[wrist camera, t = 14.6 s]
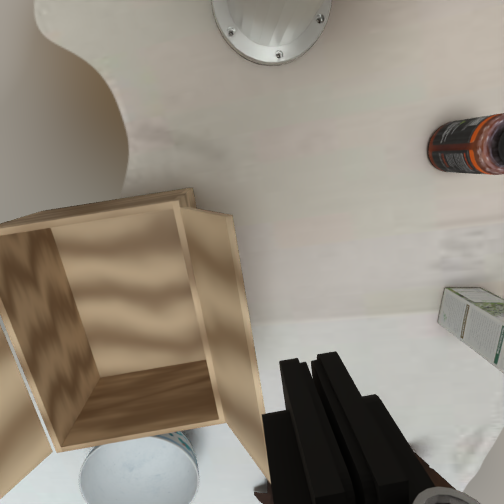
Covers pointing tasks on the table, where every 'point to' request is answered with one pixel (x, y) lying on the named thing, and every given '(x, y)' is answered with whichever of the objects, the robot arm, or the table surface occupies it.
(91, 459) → the chinaware
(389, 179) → the table surface
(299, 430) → the robot arm
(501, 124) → the supplement bottle
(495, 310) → the syrup box
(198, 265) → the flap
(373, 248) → the table surface
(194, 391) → the carton
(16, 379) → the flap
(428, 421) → the table surface
